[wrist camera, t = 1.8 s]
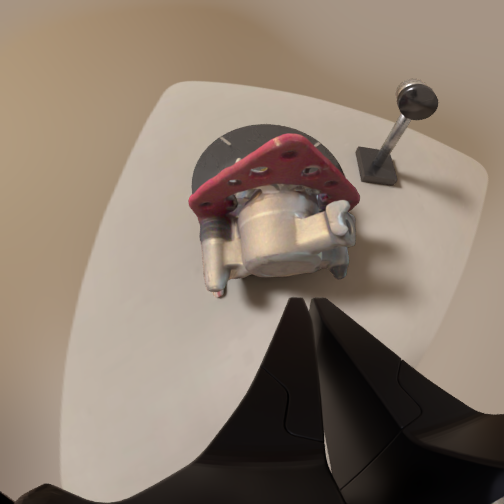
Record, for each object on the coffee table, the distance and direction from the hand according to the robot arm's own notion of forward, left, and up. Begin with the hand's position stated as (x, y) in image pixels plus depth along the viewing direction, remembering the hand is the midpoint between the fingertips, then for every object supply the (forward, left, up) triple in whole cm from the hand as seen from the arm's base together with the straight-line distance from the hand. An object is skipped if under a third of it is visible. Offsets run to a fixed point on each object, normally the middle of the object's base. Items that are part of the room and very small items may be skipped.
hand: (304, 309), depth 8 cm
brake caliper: (+8, 0, -13) cm, 15 cm away
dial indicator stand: (+16, -11, -13) cm, 23 cm away
